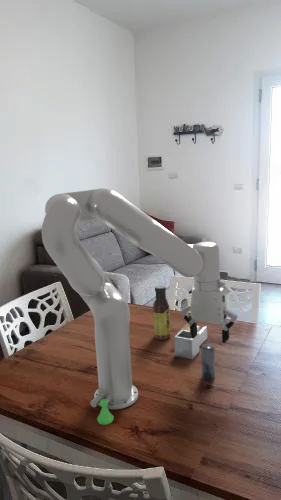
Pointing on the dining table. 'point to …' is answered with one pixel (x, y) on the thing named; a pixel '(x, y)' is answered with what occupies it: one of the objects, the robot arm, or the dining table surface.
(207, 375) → the pin
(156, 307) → the sauce bottle
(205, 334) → the leaf loose
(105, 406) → the game piece
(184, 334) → the hinge base
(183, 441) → the dining table surface
